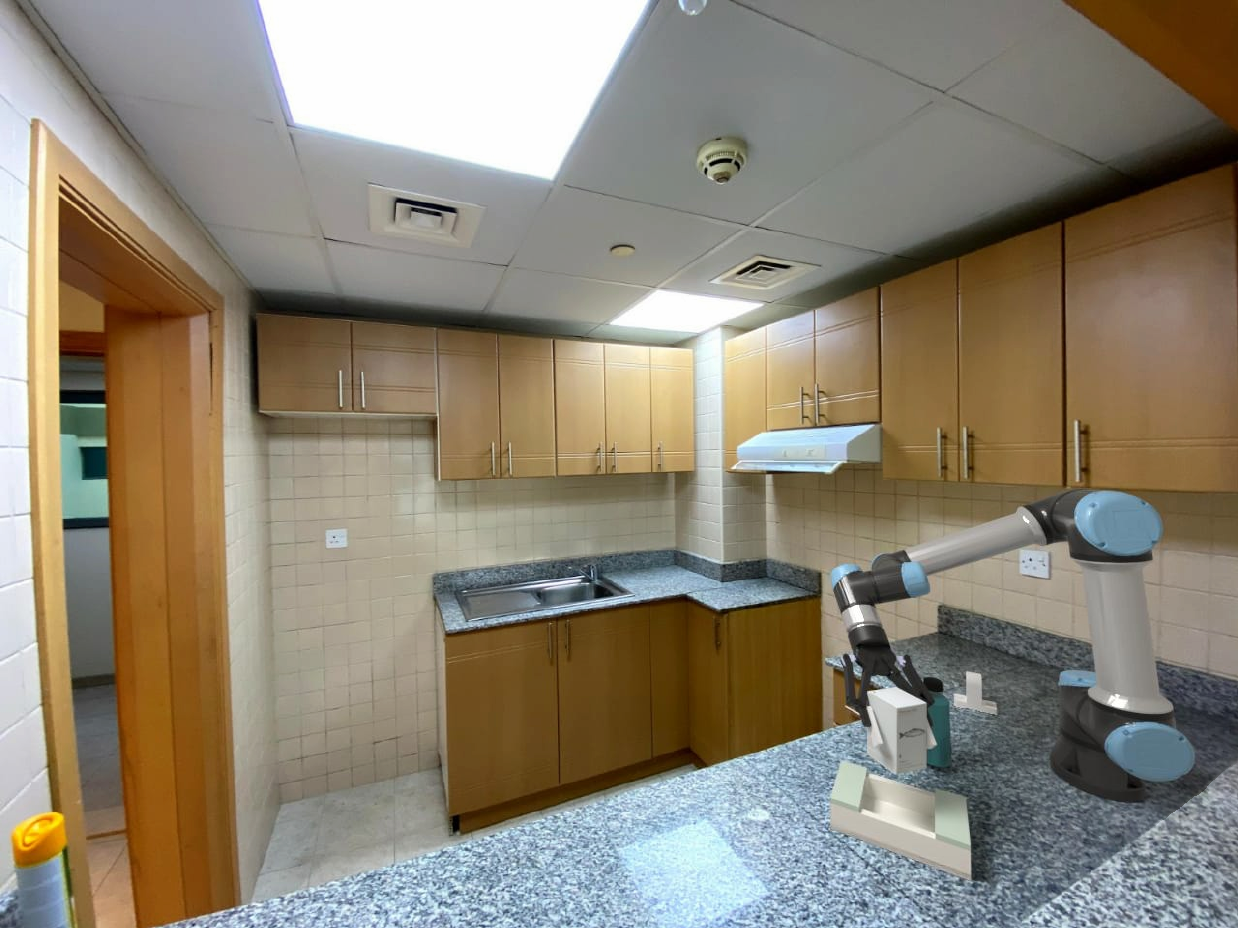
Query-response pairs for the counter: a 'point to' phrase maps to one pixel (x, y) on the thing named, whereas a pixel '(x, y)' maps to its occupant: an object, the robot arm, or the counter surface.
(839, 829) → the cream green tray
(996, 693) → the counter surface
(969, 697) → the cable organizer
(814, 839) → the counter surface
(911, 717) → the supplement box
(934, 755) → the beverage bottle
